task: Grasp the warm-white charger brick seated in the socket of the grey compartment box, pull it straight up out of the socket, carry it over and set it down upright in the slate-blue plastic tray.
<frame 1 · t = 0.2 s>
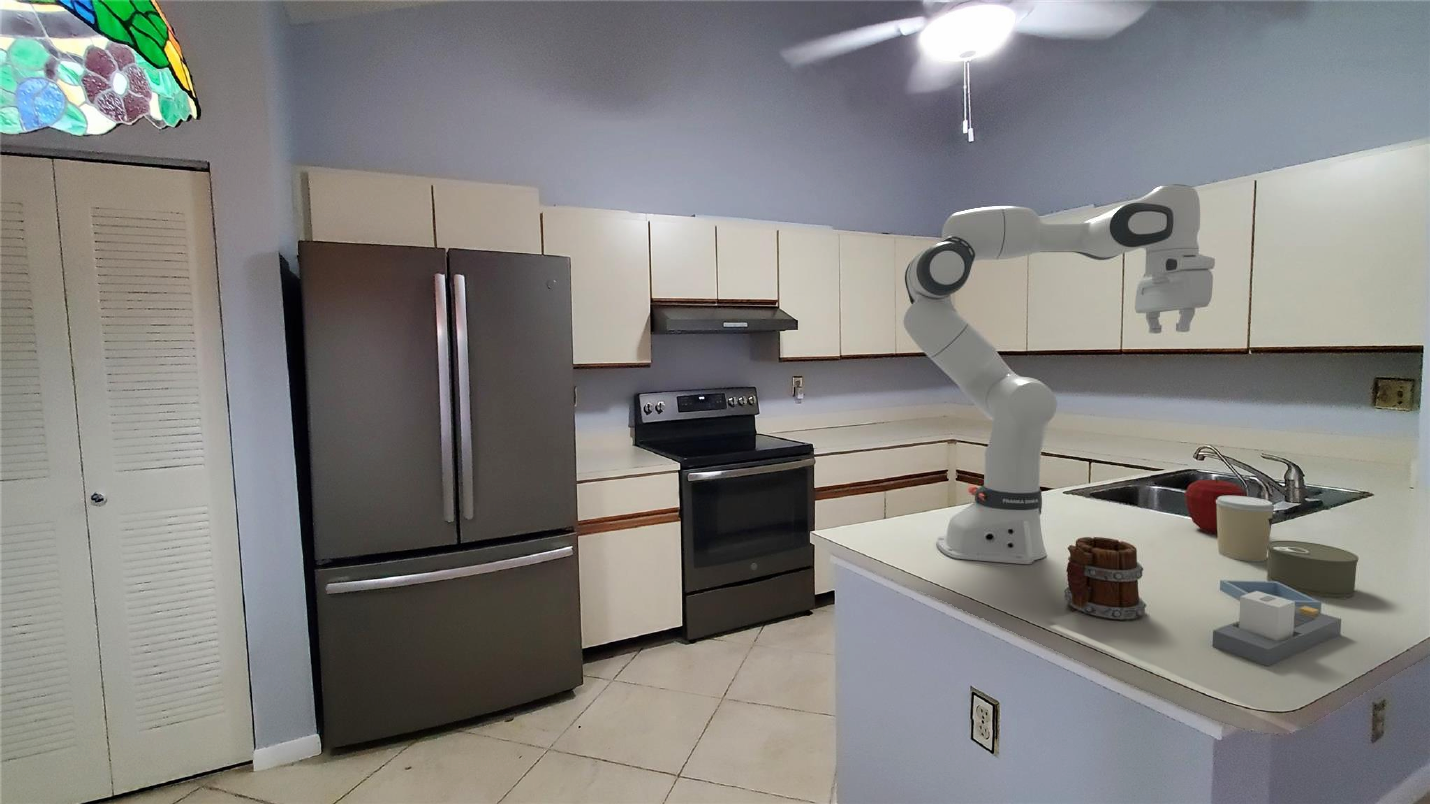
hand: (1168, 332, 127), 48 cm above the counter, fingers open, 8 cm apart
charger: (1264, 645, 89), point 1 cm above the counter, touching grey compartment box
grey compartment box: (1278, 644, 91), on the counter
can: (1308, 587, 112), on the counter
apple: (1214, 532, 146), on the counter
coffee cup: (1241, 556, 129), on the counter
tray: (1267, 605, 104), on the counter
mug: (1098, 615, 102), on the counter
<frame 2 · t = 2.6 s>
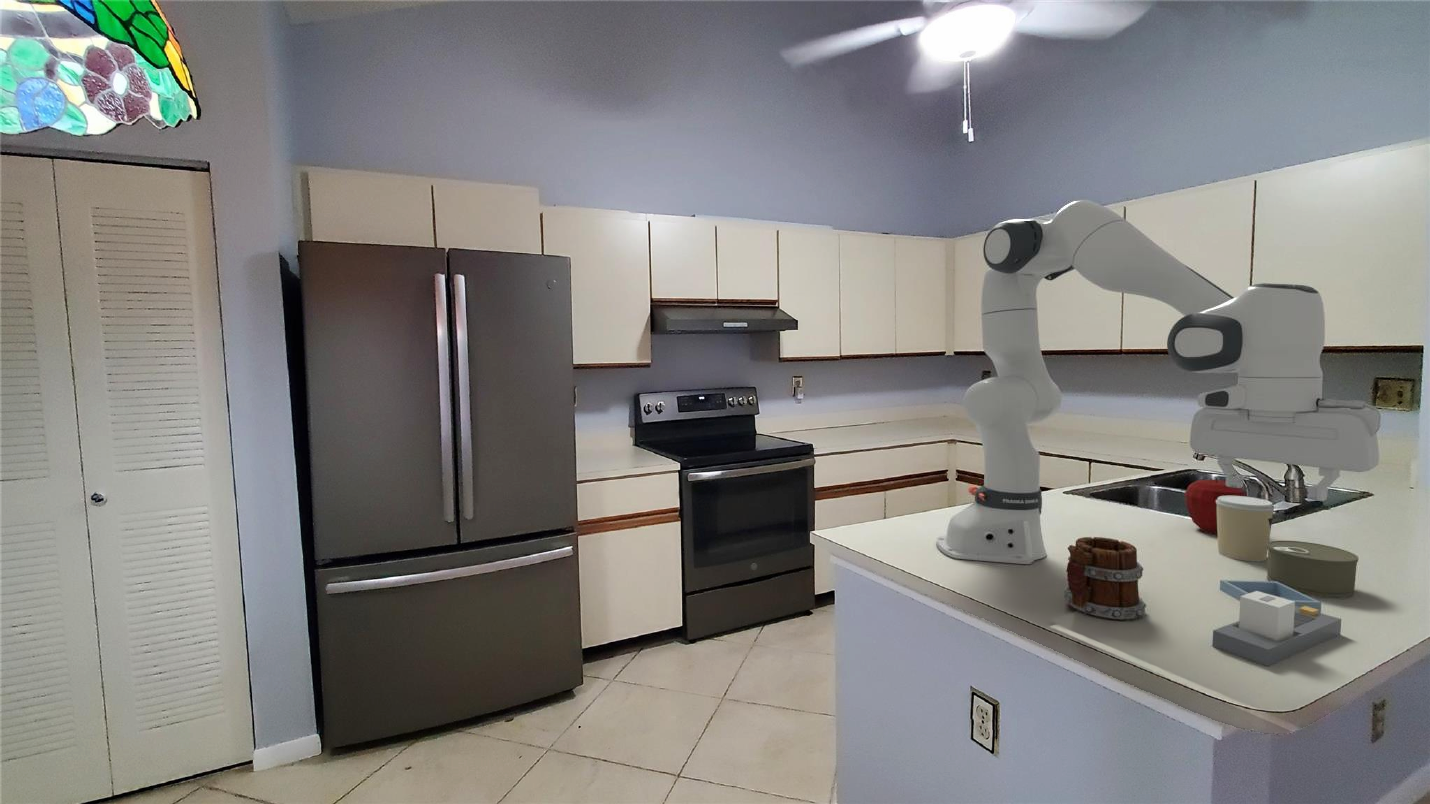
hand: (1273, 493, 87), 24 cm above the counter, fingers open, 8 cm apart
nothing on the counter moved.
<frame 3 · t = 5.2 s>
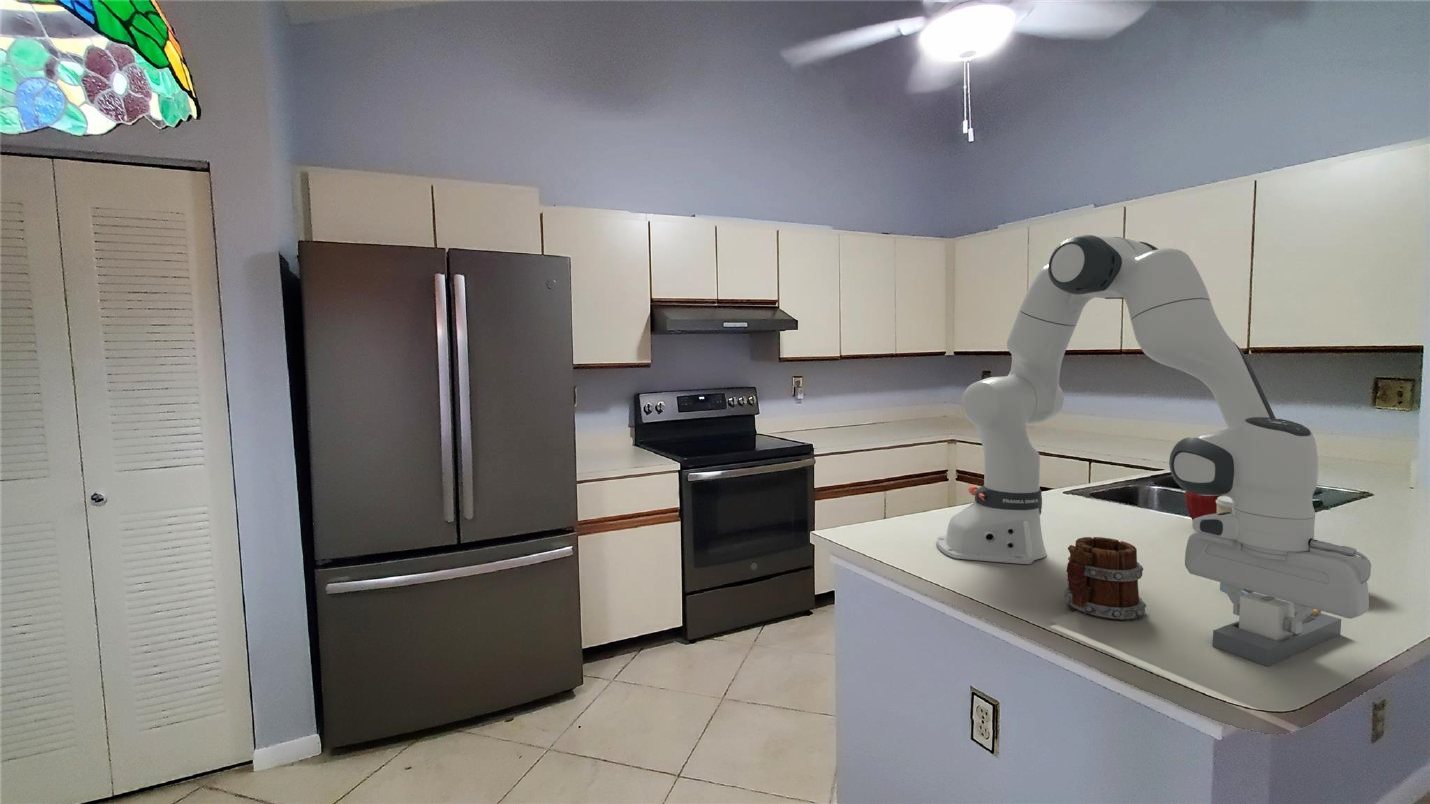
hand: (1266, 623, 89), 4 cm above the counter, fingers closed on charger, 4 cm apart
charger: (1264, 645, 89), point 1 cm above the counter, touching gripper, grey compartment box
everything else where it was.
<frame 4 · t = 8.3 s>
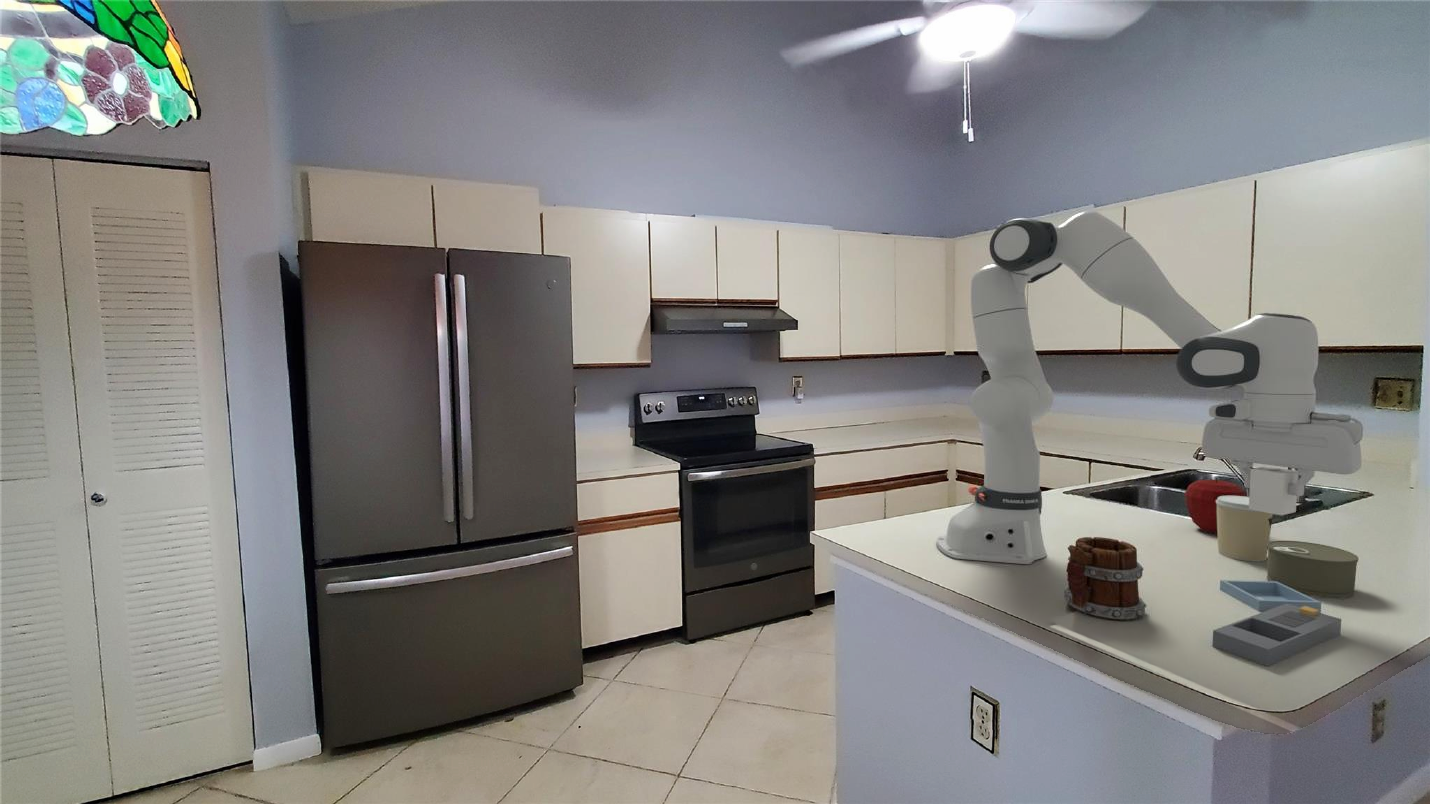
hand: (1272, 491, 103), 20 cm above the counter, fingers closed on charger, 4 cm apart
charger: (1271, 510, 103), point 17 cm above the counter, touching gripper
everything else where it was.
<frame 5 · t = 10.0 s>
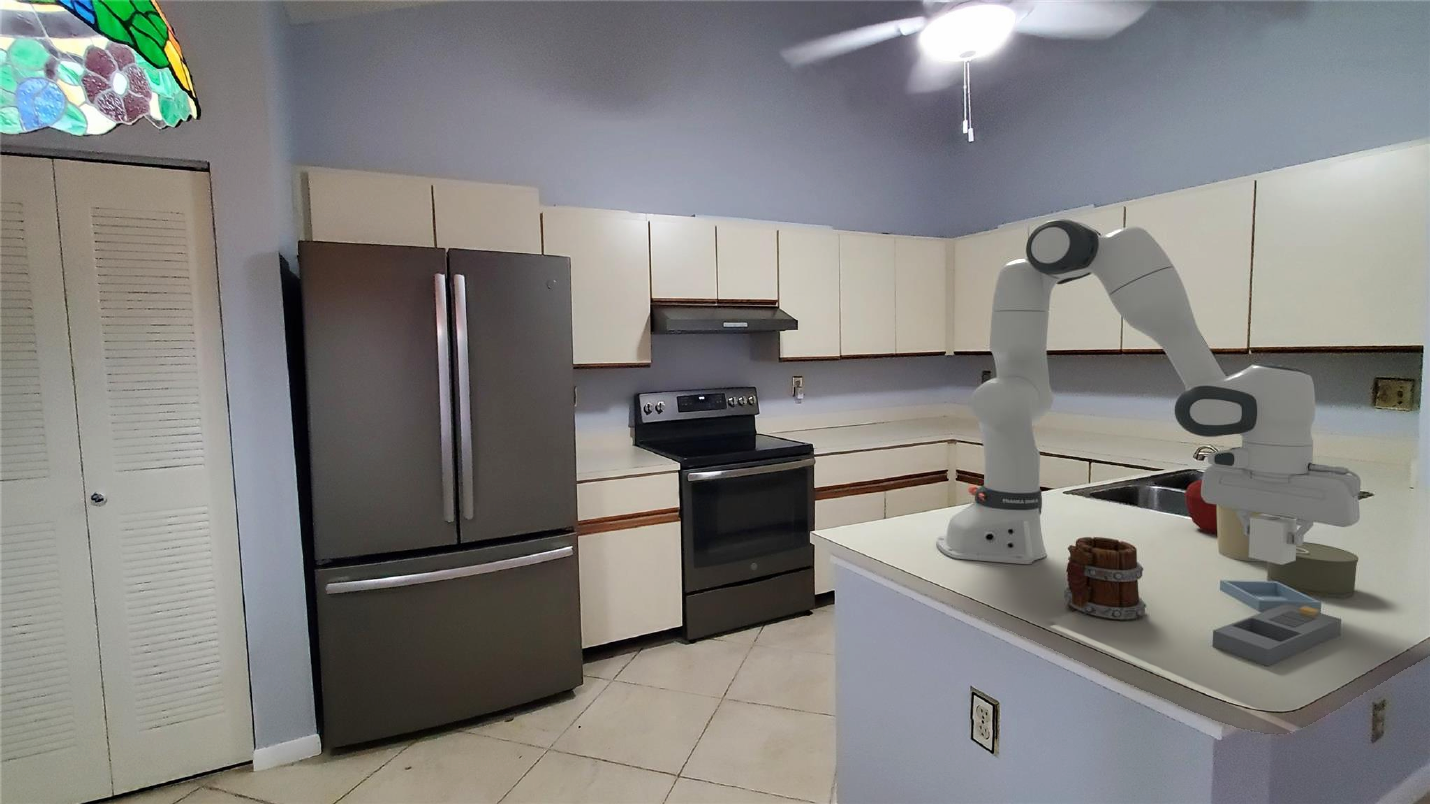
hand: (1272, 539, 103), 12 cm above the counter, fingers closed on charger, 4 cm apart
charger: (1271, 558, 103), point 8 cm above the counter, touching gripper
everything else where it was.
when the fingers open (5 cm above the counter, at t = 11.6 s): charger drops 1 cm, resting on tray.
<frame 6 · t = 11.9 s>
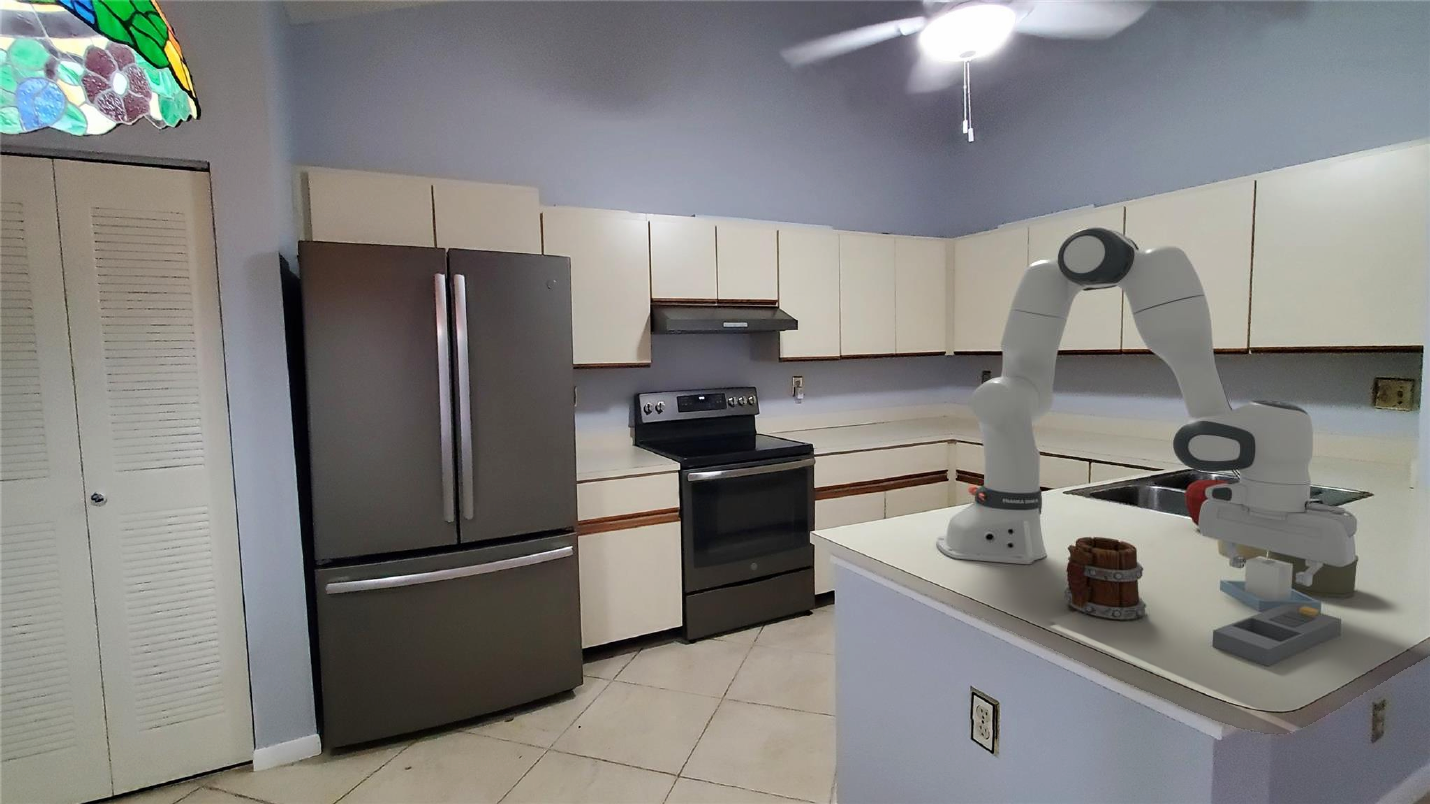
hand: (1268, 575, 104), 5 cm above the counter, fingers open, 8 cm apart
charger: (1267, 601, 104), point 1 cm above the counter, touching tray
everything else where it was.
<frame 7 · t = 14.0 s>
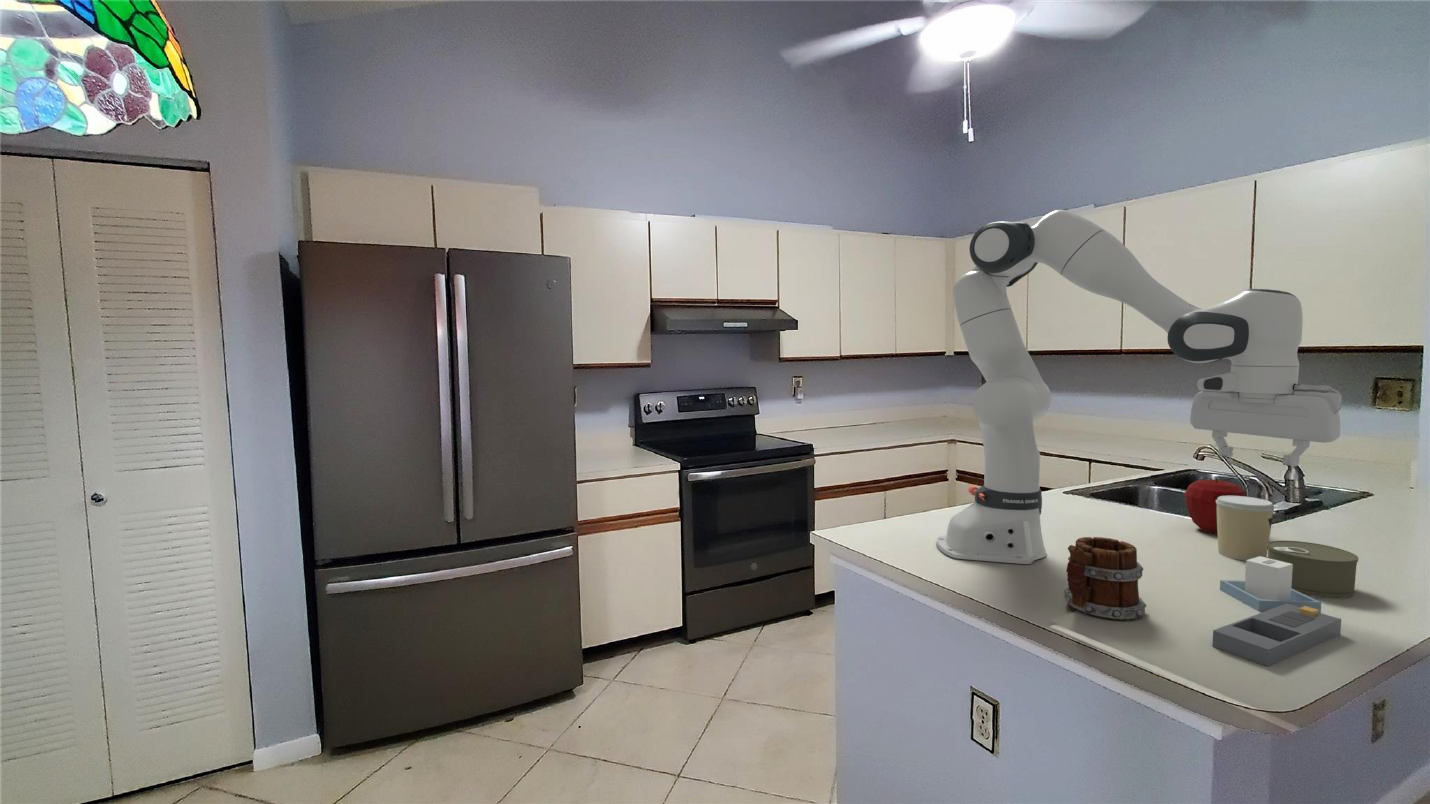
hand: (1256, 460, 107), 24 cm above the counter, fingers open, 8 cm apart
nothing on the counter moved.
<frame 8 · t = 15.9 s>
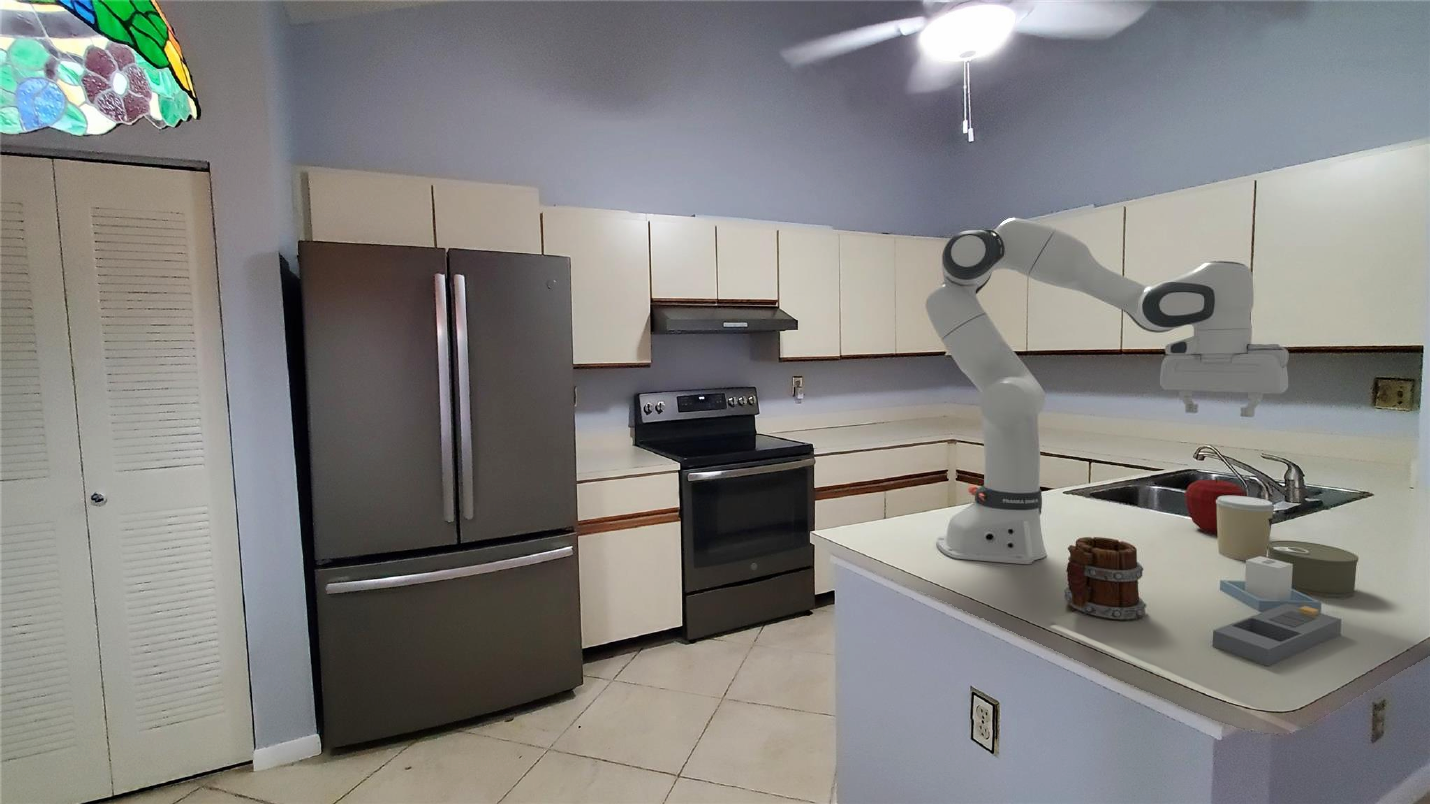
hand: (1218, 414, 120), 31 cm above the counter, fingers open, 8 cm apart
nothing on the counter moved.
at the end: charger inside the target area on the tray (0.1 cm from its centre), point 0.6 cm above the tray's base; charger tilted 0°; charger touching tray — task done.
